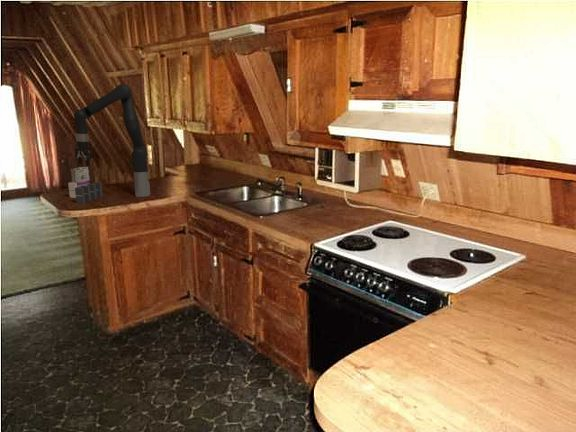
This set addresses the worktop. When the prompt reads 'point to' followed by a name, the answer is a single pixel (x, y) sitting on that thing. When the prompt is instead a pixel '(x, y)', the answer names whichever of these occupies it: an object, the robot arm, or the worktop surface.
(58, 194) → the worktop surface
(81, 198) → the domino
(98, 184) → the domino
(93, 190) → the domino
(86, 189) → the domino
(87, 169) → the candy bar box
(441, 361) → the worktop surface
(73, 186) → the ivory domino
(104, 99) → the robot arm
